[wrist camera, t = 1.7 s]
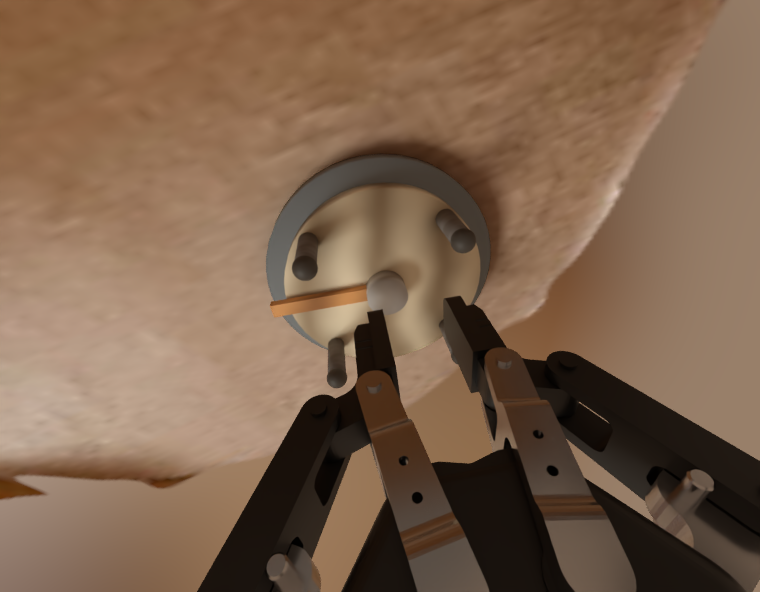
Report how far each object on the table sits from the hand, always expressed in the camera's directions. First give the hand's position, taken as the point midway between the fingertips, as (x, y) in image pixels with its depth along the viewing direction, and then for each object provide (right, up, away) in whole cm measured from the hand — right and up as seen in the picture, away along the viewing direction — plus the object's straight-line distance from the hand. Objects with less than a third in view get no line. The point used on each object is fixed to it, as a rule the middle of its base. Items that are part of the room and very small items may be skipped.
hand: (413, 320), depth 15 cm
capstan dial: (-2, +3, +21) cm, 21 cm away
